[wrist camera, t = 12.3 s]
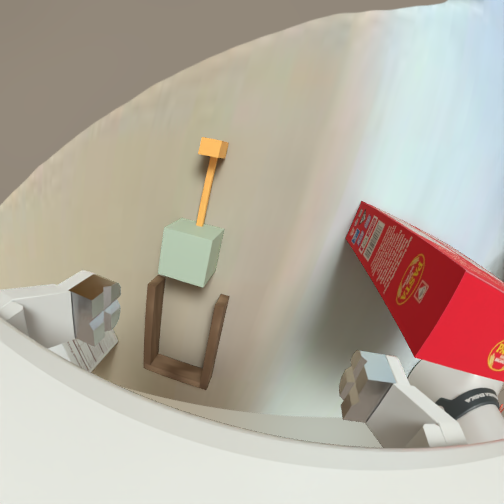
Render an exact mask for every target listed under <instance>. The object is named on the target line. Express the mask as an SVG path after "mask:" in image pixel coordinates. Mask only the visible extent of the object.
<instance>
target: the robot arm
mask: <svg viewBox="0 0 504 504" xmlns="http://www.w3.org/2000/svg"><path fill="white" fill-rule="evenodd" d="M120 295H121V287H120V285H119V283H117V282H114V281H112V280H109V279H107V278H104V277H102V276H99V275H97V274H95V273H92V272H89V271H86V270H82V271H80V272H78V273H77V274H75V275H73V276H72V277H70V278H68V279H67V280H65V281H63V282H62V283H60V284H58V285H55V284H49V285H40V286H32V287H23V288H14V289H5V290H0V504H504V418H503V416H502V415H501V412H502V411H503V410H504V408H503V409H502V410H501V408H502V406H503V404H501V406H500V407H499V403H498V398H497V396H498V394H499V392H500V390H501V388H502V386H503V383H504V382H502V381H498V380H494V379H490V378H486V377H482V376H478V375H475V374H471V373H467V372H464V371H460V370H456V369H453V368H449V367H446V366H442V365H439V364H435V363H432V362H429V361H425V360H421V361H420V362H419V363H418V364H417V365H416V366H415V368H414V369H413V370H412V372H411V374H410V375H409V377H408V379H407V377H406V374H405V372H404V370H403V368H402V365H401V363H400V361H399V359H398V357H396V356H392V355H384V354H377V353H371V352H365V351H359V350H356V352H355V353H354V354H353V356H352V358H351V365H352V366H351V367H349V368H347V369H346V370H345V371H344V373H343V375H342V377H341V381H340V385H339V394H340V397H341V398H342V399H343V400H344V401H343V403H342V404H341V409H342V417H343V420H350V421H356V422H364V423H366V425H367V426H368V428H369V429H370V431H371V432H372V433H373V435H374V436H375V437H376V439H377V440H378V441H379V443H380V444H381V445H382V447H383V448H374V447H356V446H345V445H334V444H325V443H318V442H311V441H304V440H298V439H291V438H286V437H281V436H275V435H270V434H266V433H261V432H257V431H252V430H248V429H244V428H240V427H236V426H232V425H228V424H224V423H221V422H217V421H213V420H210V419H207V418H204V417H200V416H197V415H194V414H191V413H188V412H185V411H181V410H179V409H176V408H173V407H170V406H167V405H164V404H162V403H159V402H157V401H154V400H151V399H149V398H146V397H144V396H141V395H139V394H136V393H134V392H132V391H129V390H127V389H125V388H123V387H120V386H118V385H116V384H114V383H112V382H109V381H107V380H105V379H103V378H101V377H99V376H97V375H95V374H93V373H91V372H89V371H87V370H85V369H83V368H81V367H79V366H77V365H76V364H74V363H72V362H70V361H68V360H66V359H65V358H63V357H61V356H59V355H58V354H56V353H54V352H53V351H51V350H49V349H48V348H51V347H54V346H57V345H60V344H62V343H65V342H68V341H71V340H74V339H75V338H76V339H78V340H81V341H83V342H85V343H87V344H89V345H92V346H94V347H95V346H96V345H97V344H98V343H99V342H100V341H101V340H102V339H103V338H104V337H105V332H106V331H110V330H112V329H113V328H114V327H115V326H116V324H117V322H118V320H119V316H120V305H119V303H118V301H117V299H118V298H119V296H120ZM500 410H501V411H500Z"/></svg>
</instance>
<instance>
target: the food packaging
mask: <svg viewBox="0 0 504 504" xmlns="http://www.w3.org/2000/svg"><path fill="white" fill-rule="evenodd" d="M346 240H347V241H348V243H349V245H350V246H351V248H352V249H353V251H354V252H355V254H356V256H357V257H358V259H359V260H360V262H361V263H362V265H363V267H364V268H365V270H366V272H367V273H368V275H369V277H370V278H371V280H372V282H373V283H374V285H375V287H376V288H377V290H378V292H379V293H380V295H381V297H382V298H383V300H384V302H385V304H386V305H387V307H388V309H389V311H390V312H391V314H392V316H393V318H394V320H395V321H396V323H397V325H398V327H399V329H400V331H401V332H402V334H403V336H404V338H405V340H406V342H407V344H408V346H409V348H410V349H411V351H412V353H413V355H414V357H415V358H419V359H422V360H425V361H429V362H432V363H435V364H439V365H442V366H446V367H449V368H453V369H456V370H460V371H464V372H467V373H471V374H475V375H478V376H482V377H486V378H490V379H494V380H498V381H502V382H504V282H503V281H501V280H500V279H499V278H497V277H496V276H494V275H493V274H492V273H490V272H489V271H487V270H486V269H484V268H483V267H482V266H480V265H479V264H477V263H476V262H474V261H473V260H471V259H470V258H468V257H467V256H465V255H464V254H462V253H461V252H459V251H457V250H456V249H454V248H453V247H451V246H450V245H448V244H446V243H444V242H443V241H441V240H439V239H437V238H435V237H433V236H431V235H430V234H428V233H426V232H424V231H422V230H420V229H418V228H416V227H414V226H412V225H410V224H408V223H407V222H405V221H403V220H401V219H399V218H397V217H394V216H392V215H390V214H388V213H386V212H384V211H382V210H380V209H378V208H376V207H374V206H372V205H369V204H367V203H365V202H363V201H361V204H360V206H359V208H358V211H357V213H356V216H355V218H354V220H353V223H352V225H351V227H350V229H349V232H348V234H347V236H346Z"/></svg>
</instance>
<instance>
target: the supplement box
mask: <svg viewBox="0 0 504 504" xmlns="http://www.w3.org/2000/svg"><path fill="white" fill-rule="evenodd" d="M117 342H118V340H117V337H116V335H115V333H114V330H113V329H112V330H110V331H106V332H105V337H104V338H103V339H102V340H101V341H100V342H99V343H98V344H97V345H96V346H95V347H94V346H92V345H89V344H87V343H85V342H83V341H81V340H78V339H76V338H75V339H74V340H71V341H68V342H65V343H62V344H60V345H57V346H54V347H51V348H48V349H49V350H51V351H53V352H54V353H56V354H58V355H59V356H61V357H63V358H65V359H66V360H68V361H70V362H72V363H74V364H76V365H77V366H79V367H81V368H83V369H85V370H87V371H89V372H92V371H93V369H94V368H95V367H96V366H97V365H98V364H99V363H100V362H101V360H102V359H103V358H104V357H105V356H106V355H107V354H108V353H109V351H110V350H111V349H112V348H113V347H114V346H115V345H116V344H117Z"/></svg>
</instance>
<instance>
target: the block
mask: <svg viewBox="0 0 504 504" xmlns="http://www.w3.org/2000/svg"><path fill="white" fill-rule="evenodd" d="M228 144H229V143H227V142H224V141H220V140H215V139H210V138H204V137H202V139H201V144H200V148H199V152H198V154H201V155H206V156H211V157H210V161H209V166H208V170H207V175H206V179H205V184H204V189H203V193H202V198H201V203H200V208H199V213H198V218H197V222H196V221H192V220H189V219H185V218H181V219H179V220H177V221H175V222H174V223H172V224H170V225H168V226H166V227H164V233H163V240H162V247H161V254H160V262H159V270H158V274H161V275H164V276H167V277H170V278H174V279H177V280H180V281H183V282H186V283H190V284H193V285H196V286H199V287H204V286H205V284H206V283H207V282H208V280H209V279H210V277H211V276H212V275H213V273H214V272H215V270H216V266H217V261H218V257H219V252H220V247H221V243H222V238H223V234H224V229H223V228H219V227H215V226H211V225H208V224H204V220H205V215H206V210H207V205H208V201H209V196H210V191H211V187H212V182H213V178H214V173H215V169H216V164H217V160H218V158H225V156H226V152H227V148H228Z"/></svg>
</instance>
